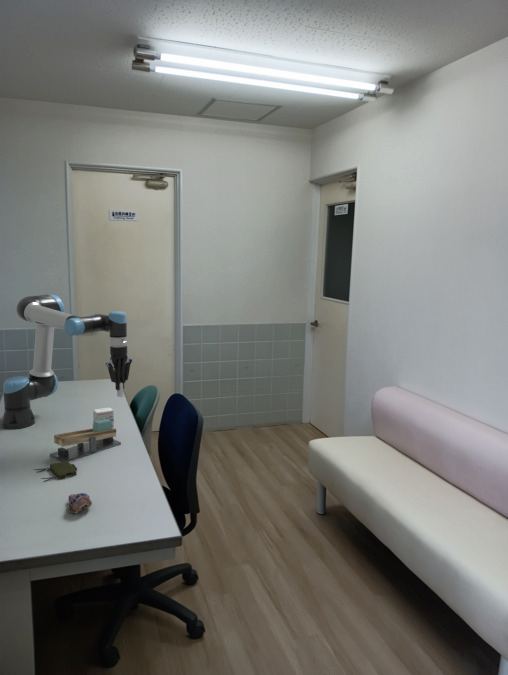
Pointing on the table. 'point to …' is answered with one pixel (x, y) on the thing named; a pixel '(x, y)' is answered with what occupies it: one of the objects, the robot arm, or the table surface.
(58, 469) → the electronic device
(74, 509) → the purple brown lumpy chunk
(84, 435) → the beam
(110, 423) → the teal rectangular block
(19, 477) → the table surface
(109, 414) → the ink box
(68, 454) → the stand
